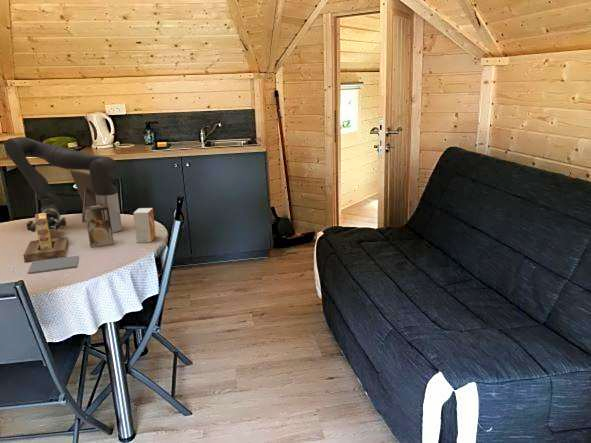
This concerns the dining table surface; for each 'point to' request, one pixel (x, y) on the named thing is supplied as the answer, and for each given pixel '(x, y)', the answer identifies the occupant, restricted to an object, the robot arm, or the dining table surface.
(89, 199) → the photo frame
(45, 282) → the dining table surface
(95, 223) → the coffee box
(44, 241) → the candy box
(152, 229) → the small box
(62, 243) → the pocket board
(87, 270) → the dining table surface
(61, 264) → the slate mat
